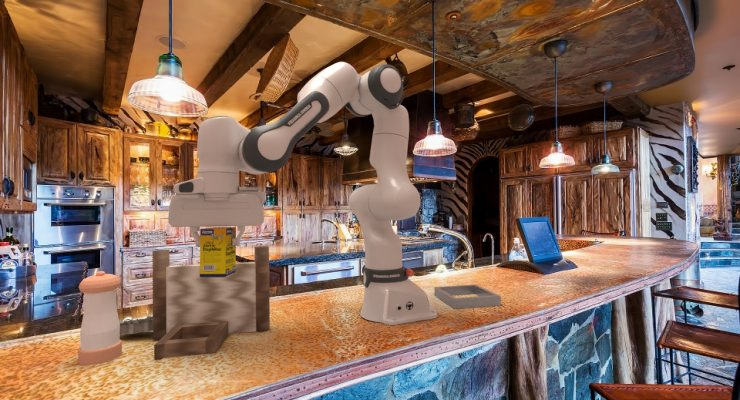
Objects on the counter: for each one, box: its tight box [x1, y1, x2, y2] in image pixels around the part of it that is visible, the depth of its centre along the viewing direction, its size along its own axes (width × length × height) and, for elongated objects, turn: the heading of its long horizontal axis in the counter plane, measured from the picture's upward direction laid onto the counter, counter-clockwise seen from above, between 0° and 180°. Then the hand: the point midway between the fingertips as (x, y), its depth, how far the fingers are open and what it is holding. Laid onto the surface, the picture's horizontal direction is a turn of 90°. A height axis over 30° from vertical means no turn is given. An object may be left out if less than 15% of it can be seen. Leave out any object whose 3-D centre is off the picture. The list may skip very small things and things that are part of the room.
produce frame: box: [433, 284, 502, 310], centre depth 113 cm, size 16×16×3 cm
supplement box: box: [199, 226, 237, 277], centre depth 78 cm, size 6×6×11 cm
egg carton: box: [119, 315, 153, 336], centre depth 86 cm, size 11×8×4 cm
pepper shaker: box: [77, 270, 123, 366], centre depth 72 cm, size 7×7×19 cm
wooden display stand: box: [151, 245, 271, 361], centre depth 80 cm, size 28×16×22 cm, turn 101°
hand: (218, 246), depth 78 cm, fingers closed on supplement box, 6 cm apart
